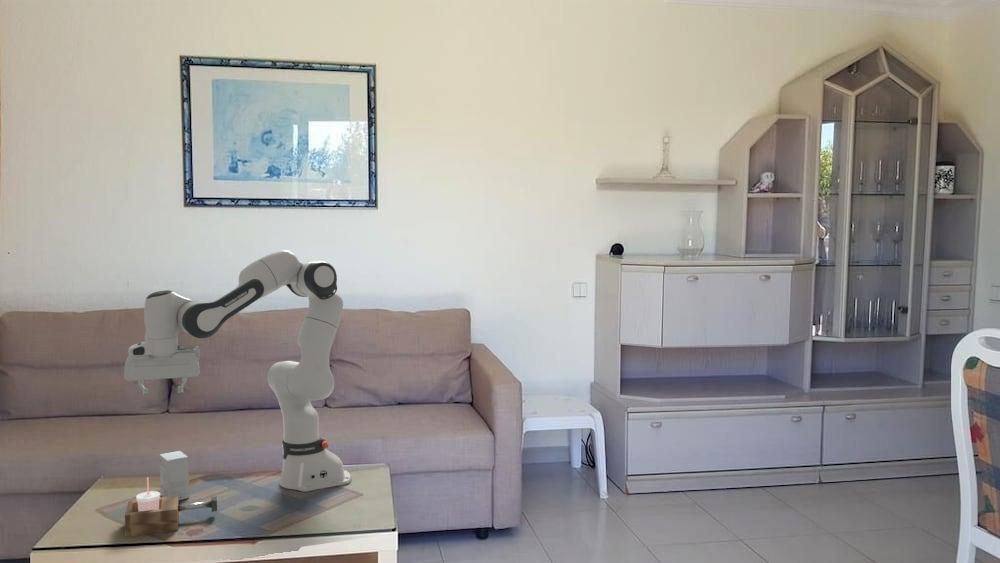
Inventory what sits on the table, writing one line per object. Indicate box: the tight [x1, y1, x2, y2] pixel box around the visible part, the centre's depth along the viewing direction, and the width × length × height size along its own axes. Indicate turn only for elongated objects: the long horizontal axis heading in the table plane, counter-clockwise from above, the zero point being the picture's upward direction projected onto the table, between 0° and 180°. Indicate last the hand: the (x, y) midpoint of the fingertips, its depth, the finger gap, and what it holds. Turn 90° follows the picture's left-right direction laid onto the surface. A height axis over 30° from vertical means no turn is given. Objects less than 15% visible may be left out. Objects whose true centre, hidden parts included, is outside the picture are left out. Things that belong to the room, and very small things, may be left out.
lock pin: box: [178, 496, 218, 513], centre depth 223 cm, size 13×3×3 cm, turn 111°
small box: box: [159, 450, 190, 501], centre depth 240 cm, size 8×6×13 cm
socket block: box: [124, 496, 180, 538], centre depth 218 cm, size 13×11×6 cm
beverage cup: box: [135, 476, 161, 511], centre depth 217 cm, size 6×6×14 cm
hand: (163, 393), depth 229 cm, fingers open, 8 cm apart
